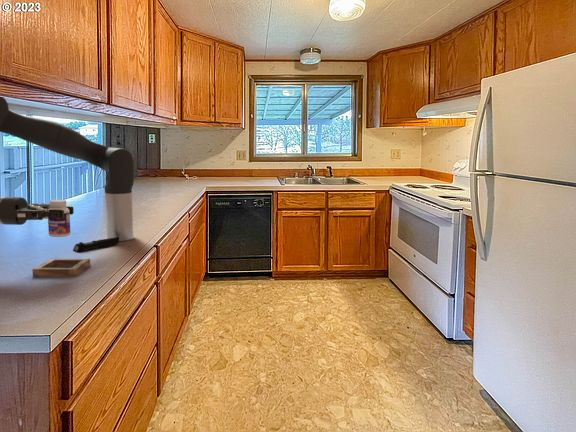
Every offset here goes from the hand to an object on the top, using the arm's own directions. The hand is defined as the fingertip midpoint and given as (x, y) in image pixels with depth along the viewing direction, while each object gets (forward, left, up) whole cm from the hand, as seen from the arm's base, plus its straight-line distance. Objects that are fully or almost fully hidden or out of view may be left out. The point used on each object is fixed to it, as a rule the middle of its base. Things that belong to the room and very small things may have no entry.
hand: (68, 212), depth 126 cm
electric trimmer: (-28, -3, -17) cm, 33 cm away
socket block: (0, -2, -17) cm, 17 cm away
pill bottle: (0, -3, -7) cm, 7 cm away
